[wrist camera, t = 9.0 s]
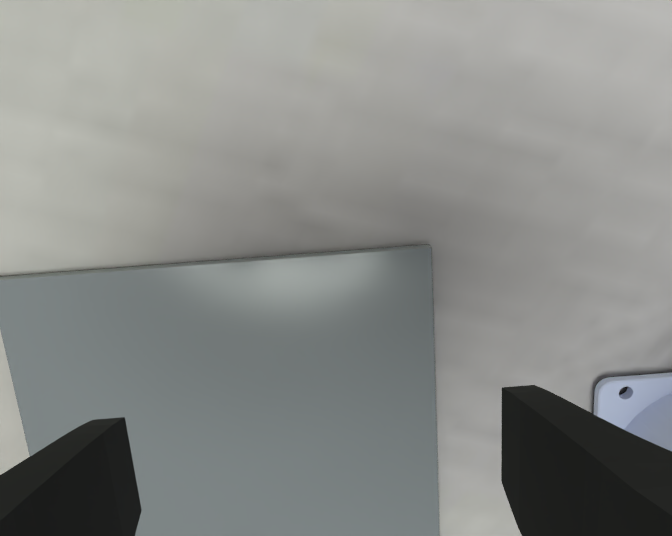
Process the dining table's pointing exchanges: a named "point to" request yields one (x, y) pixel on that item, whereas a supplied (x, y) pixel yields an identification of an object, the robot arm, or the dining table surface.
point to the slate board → (245, 386)
